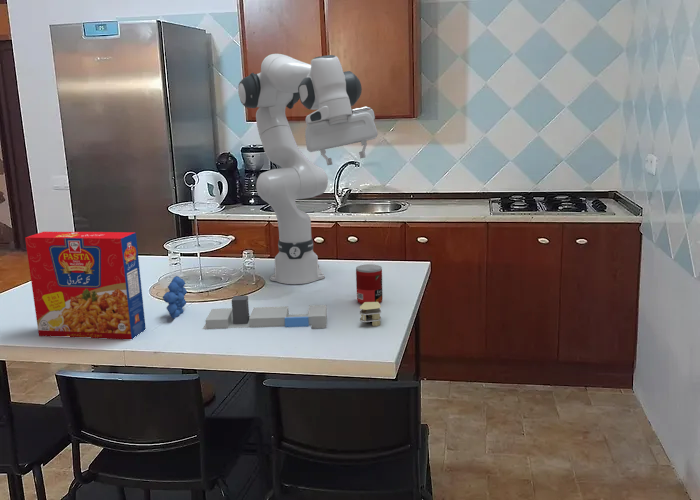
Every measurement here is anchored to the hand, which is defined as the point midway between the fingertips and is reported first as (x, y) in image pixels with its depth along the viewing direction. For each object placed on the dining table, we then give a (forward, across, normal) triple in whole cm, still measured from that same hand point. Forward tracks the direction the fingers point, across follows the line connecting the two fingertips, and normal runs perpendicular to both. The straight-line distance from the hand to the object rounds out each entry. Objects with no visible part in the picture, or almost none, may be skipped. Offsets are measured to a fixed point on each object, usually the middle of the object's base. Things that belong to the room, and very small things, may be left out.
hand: (346, 161), depth 193 cm
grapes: (+34, +58, -13) cm, 69 cm away
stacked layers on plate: (+46, +3, +1) cm, 46 cm away
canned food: (+42, +1, -18) cm, 46 cm away
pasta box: (+32, +79, -2) cm, 86 cm away
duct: (+40, +32, -2) cm, 51 cm away
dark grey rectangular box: (+38, +38, -2) cm, 54 cm away
